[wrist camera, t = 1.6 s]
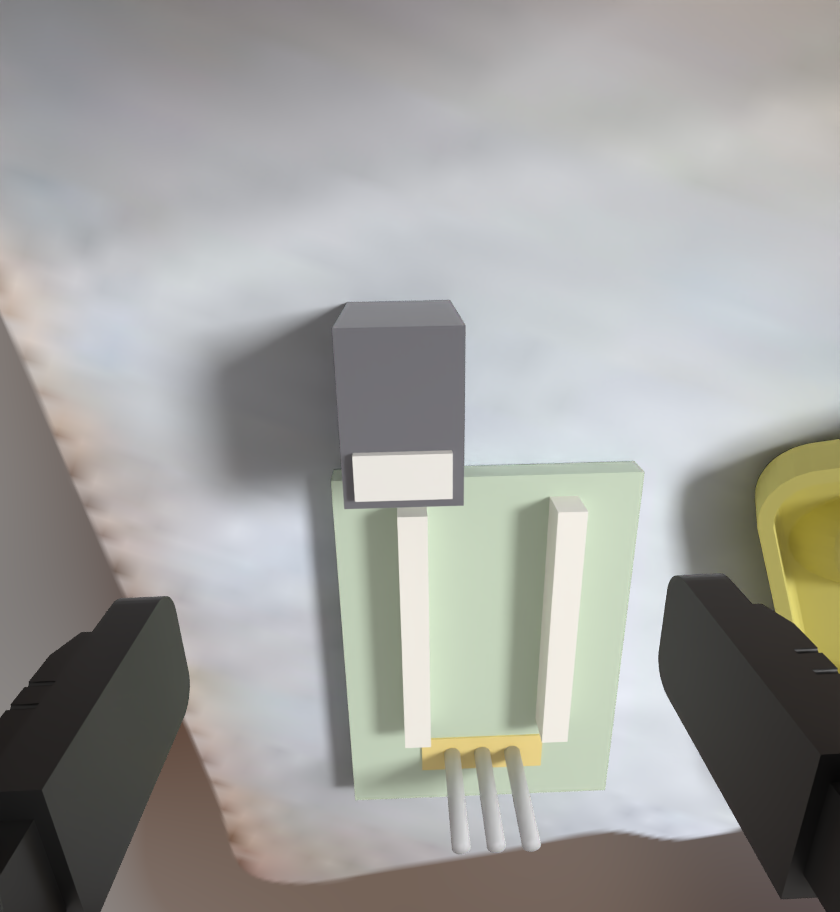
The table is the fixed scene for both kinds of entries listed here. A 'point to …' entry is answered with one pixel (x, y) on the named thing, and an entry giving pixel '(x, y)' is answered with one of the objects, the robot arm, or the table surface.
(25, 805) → the robot arm
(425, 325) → the plug
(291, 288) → the table surface
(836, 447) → the plastic component
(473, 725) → the board
